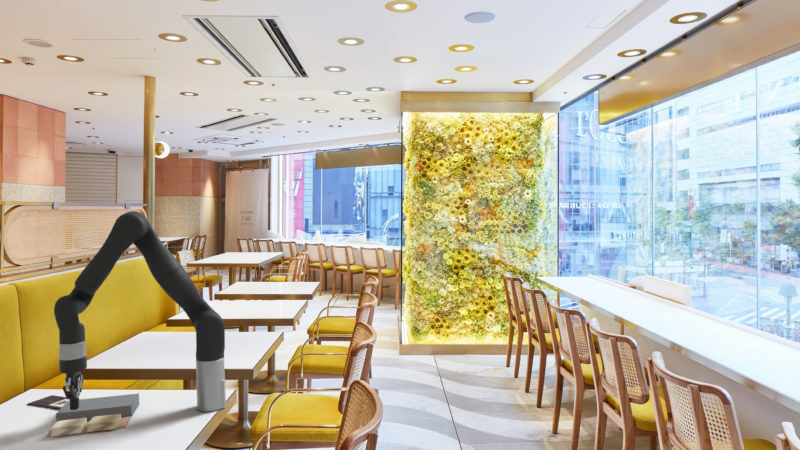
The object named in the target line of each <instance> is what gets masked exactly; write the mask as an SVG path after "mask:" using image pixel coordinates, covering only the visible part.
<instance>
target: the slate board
mask: <svg viewBox="0 0 800 450" xmlns="http://www.w3.org/2000/svg"><path fill="white" fill-rule="evenodd" d="M79 399H80V398H79ZM139 406H140V394H139V393H131V394H130V393H129V394H121V395H119V394H118V395H109V396H100V397H93V398H92V397H91V398H90V397H89V398H82V399H80V400H79V408H78V409H77V410H70V401H68V402H67V403H66V404H65V405H64V406H63V407H62V408H61V409H60V410H57V412H56V413H55V423H56V422H57V421H62V420H70V419H79V418H87V421H90V420H91V419H92V418H93V417H95V416H104V415H114V414H121V417H130V416H131V418H132V417H133V416H134V414H135V412H136V411H137V409H139V408H138V407H139Z"/></svg>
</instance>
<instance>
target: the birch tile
mask: <svg viewBox="0 0 800 450" xmlns="http://www.w3.org/2000/svg"><path fill="white" fill-rule="evenodd" d="M86 426H87V418H79V419H70V420H62V421H57V422H56V421H55V423H54V424H53V426H52V427H51V428H50V430H51V436H50V437H52V438H53V437H60V436H67V435H75V434H81V433H83V432H82V431H83V430H84V428H85V427H86Z"/></svg>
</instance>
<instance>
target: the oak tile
mask: <svg viewBox="0 0 800 450" xmlns="http://www.w3.org/2000/svg"><path fill="white" fill-rule="evenodd" d="M120 422H121V414H114V415H104V416H95V417H93V418H92V419H91V420H90V421H89V422H88V424H87V432H86V433H92V432H99V431H108V430H115V429H118V428H117V427H118V425H119V424H120Z"/></svg>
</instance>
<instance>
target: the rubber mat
mask: <svg viewBox="0 0 800 450" xmlns="http://www.w3.org/2000/svg"><path fill="white" fill-rule="evenodd" d="M131 419H132V417H131V416H130V417H121V422H120V424H119V425H118V427H117V428H116V429H122V428H126V427H127V426H128V425H129V423H130V421H131ZM88 422H89V421H87V424H88ZM82 433H88V432H87V426H86V427H85V428H84V430H83V431H82ZM45 437H47V438H48V437H51V429H50V431H49V432H47V433H46V435H45Z"/></svg>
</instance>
